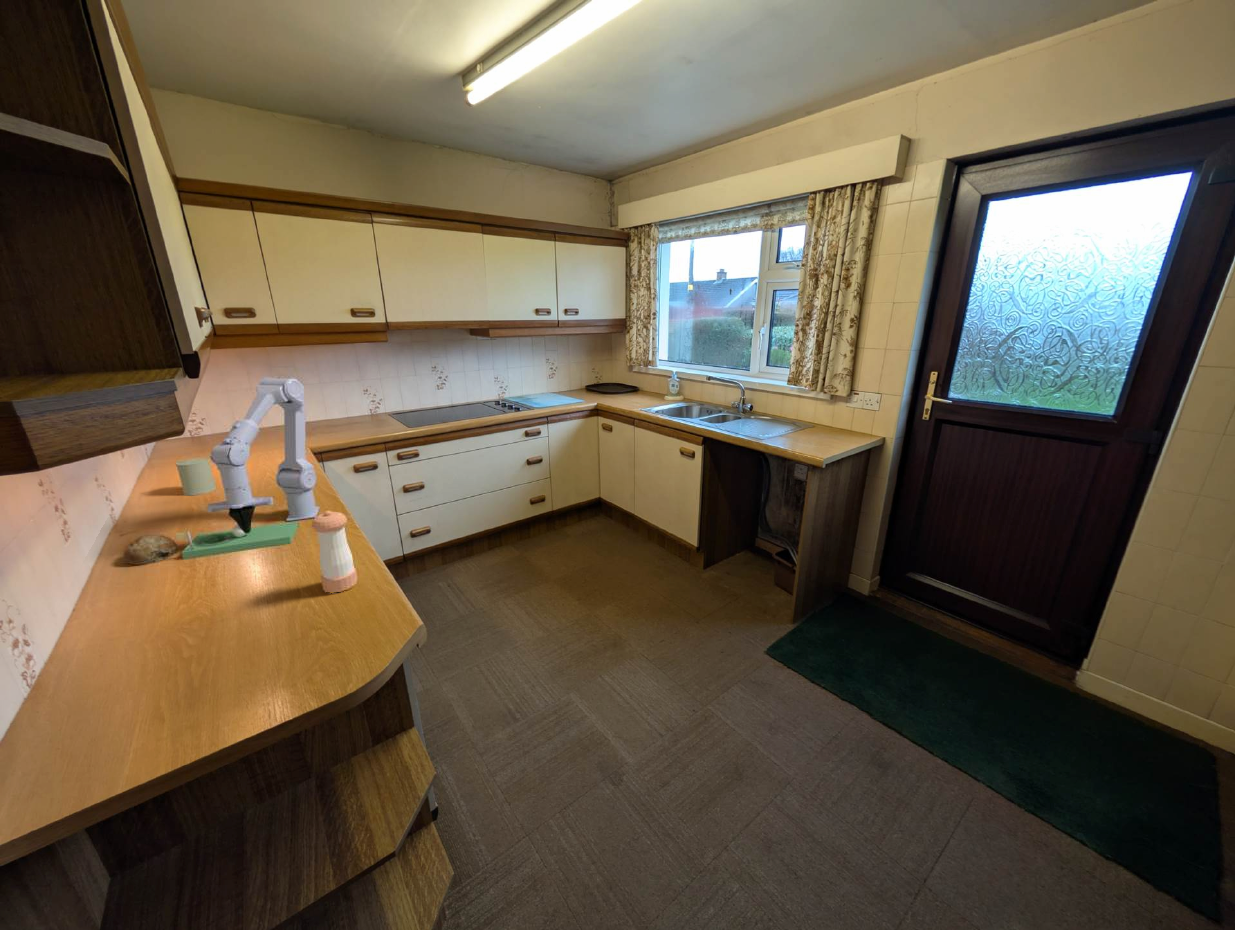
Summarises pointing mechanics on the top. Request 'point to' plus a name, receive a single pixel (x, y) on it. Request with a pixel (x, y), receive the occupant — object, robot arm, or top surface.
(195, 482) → the can
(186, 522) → the top surface
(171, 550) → the brown rounded lump
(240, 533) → the ball
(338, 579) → the pepper shaker
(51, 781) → the top surface
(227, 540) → the green
